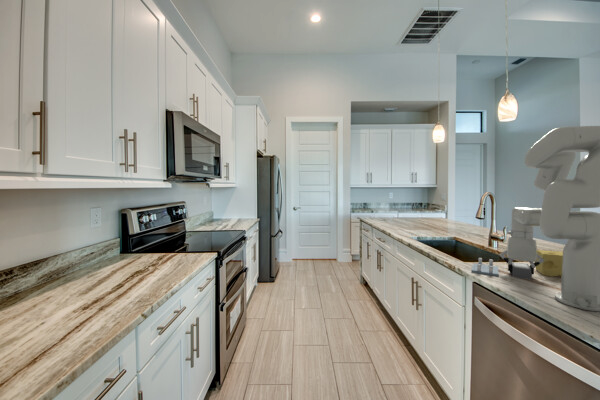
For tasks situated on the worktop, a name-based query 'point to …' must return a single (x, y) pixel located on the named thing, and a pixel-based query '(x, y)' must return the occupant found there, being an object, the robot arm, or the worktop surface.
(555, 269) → the cheese
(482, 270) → the grey piece
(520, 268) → the block
